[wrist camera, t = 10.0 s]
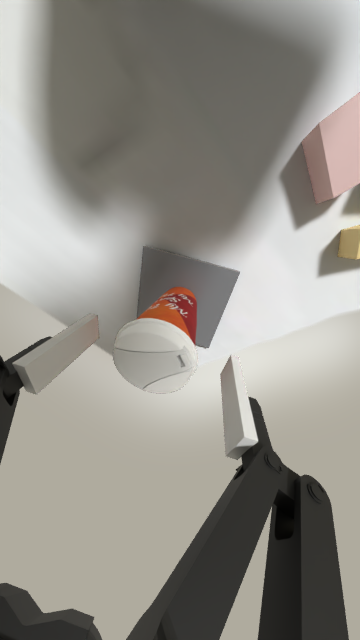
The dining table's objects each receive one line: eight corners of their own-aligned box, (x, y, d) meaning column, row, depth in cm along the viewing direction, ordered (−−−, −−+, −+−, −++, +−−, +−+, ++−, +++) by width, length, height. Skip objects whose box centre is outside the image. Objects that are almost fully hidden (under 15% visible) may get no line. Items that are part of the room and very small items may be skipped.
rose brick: (300, 142, 15) (319, 122, 13) (337, 115, 14) (366, 87, 11) (315, 204, 17) (333, 198, 15) (348, 184, 16) (375, 174, 13)
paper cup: (194, 272, 22) (176, 315, 10) (209, 317, 25) (208, 393, 13) (148, 288, 24) (87, 339, 12) (166, 328, 27) (132, 400, 15)
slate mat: (145, 245, 22) (143, 246, 21) (239, 271, 22) (240, 272, 21) (137, 324, 29) (136, 326, 28) (208, 345, 29) (208, 348, 28)
